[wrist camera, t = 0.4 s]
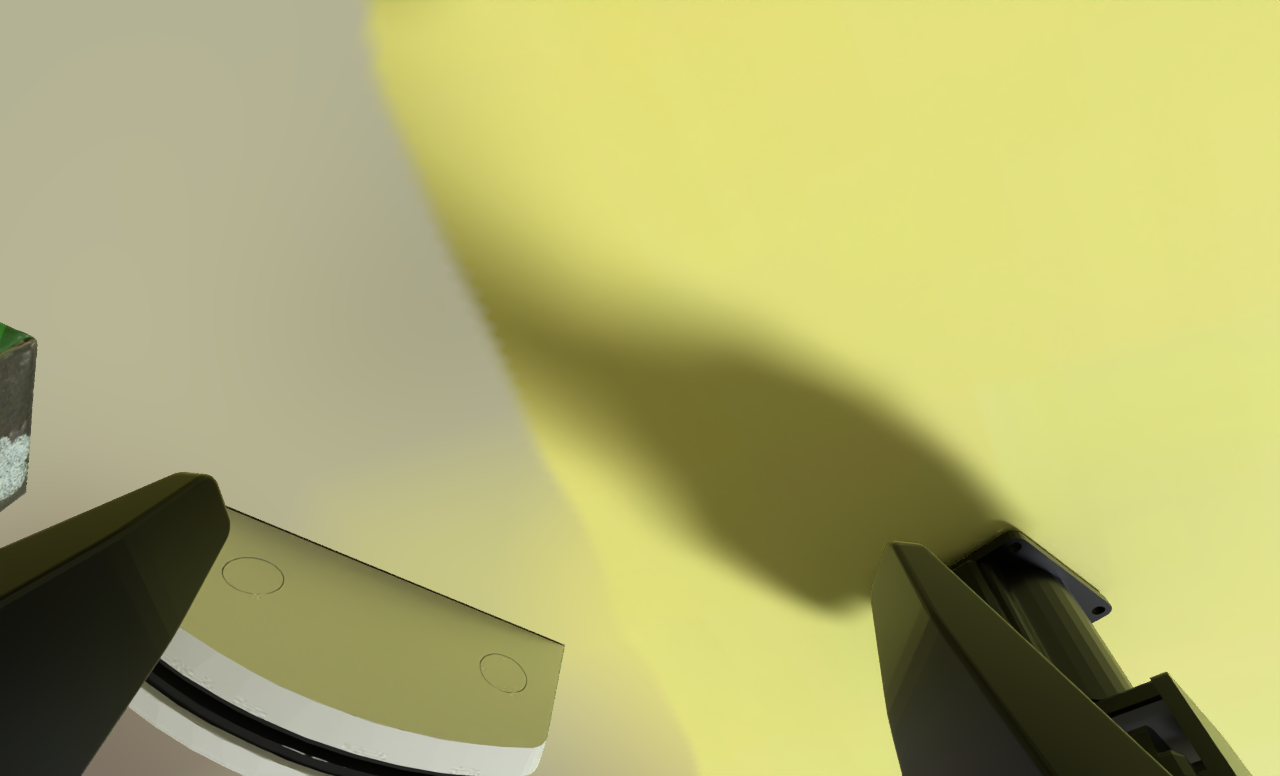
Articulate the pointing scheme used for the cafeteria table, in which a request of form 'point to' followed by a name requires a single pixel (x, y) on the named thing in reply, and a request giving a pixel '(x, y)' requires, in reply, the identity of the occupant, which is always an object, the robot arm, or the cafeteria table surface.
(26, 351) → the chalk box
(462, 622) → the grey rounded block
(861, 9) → the cafeteria table surface
